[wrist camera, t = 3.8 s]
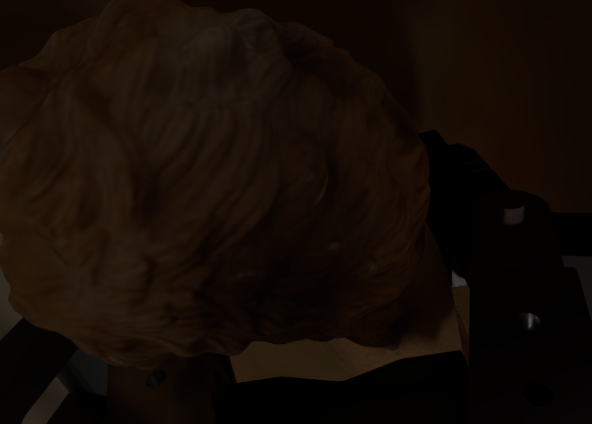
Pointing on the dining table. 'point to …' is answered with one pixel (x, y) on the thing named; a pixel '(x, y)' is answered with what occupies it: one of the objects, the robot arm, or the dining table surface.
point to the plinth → (3, 320)
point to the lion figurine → (216, 193)
